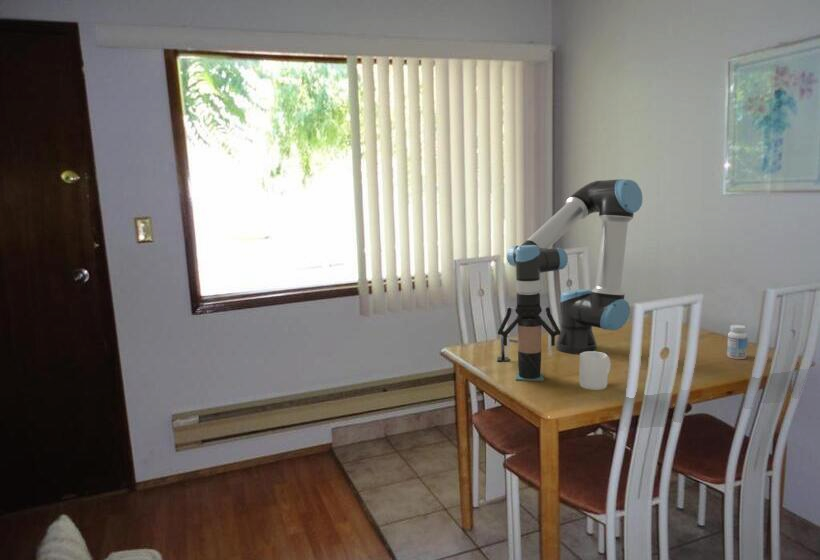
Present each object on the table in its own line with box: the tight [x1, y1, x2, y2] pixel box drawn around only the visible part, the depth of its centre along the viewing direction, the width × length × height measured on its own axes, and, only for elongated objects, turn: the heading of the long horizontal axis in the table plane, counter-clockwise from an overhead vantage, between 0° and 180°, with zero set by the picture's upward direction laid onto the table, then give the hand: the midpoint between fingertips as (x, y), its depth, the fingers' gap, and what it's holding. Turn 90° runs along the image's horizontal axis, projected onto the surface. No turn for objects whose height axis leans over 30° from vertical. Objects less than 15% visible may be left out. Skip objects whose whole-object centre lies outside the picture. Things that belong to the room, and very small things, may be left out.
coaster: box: [515, 371, 545, 382], centre depth 187 cm, size 9×7×1 cm
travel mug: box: [517, 316, 542, 379], centre depth 185 cm, size 8×8×20 cm
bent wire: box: [496, 335, 518, 363], centre depth 199 cm, size 12×16×10 cm
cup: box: [579, 350, 611, 391], centre depth 176 cm, size 8×12×10 cm
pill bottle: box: [726, 324, 748, 360], centre depth 197 cm, size 6×6×11 cm
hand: (529, 355), depth 185 cm, fingers open, 13 cm apart
